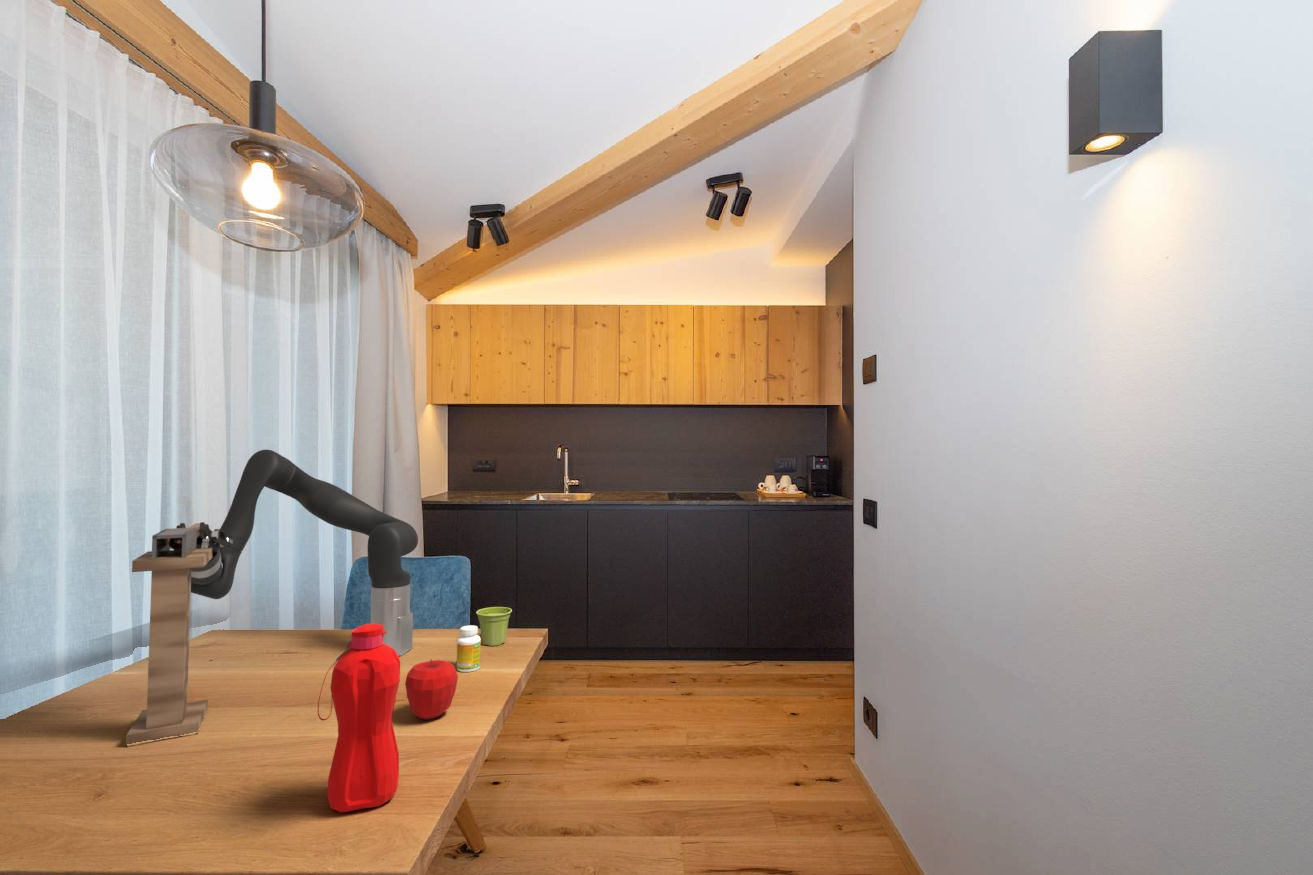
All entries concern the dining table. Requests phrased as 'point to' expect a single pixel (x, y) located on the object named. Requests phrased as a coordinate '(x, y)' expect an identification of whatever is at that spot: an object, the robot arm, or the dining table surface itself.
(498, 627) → the plant pot
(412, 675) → the apple
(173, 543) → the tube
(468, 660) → the supplement bottle
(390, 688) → the water bottle
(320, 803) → the dining table surface
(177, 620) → the wooden pedestal stand
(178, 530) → the grey hollow box
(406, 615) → the robot arm
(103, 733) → the dining table surface
